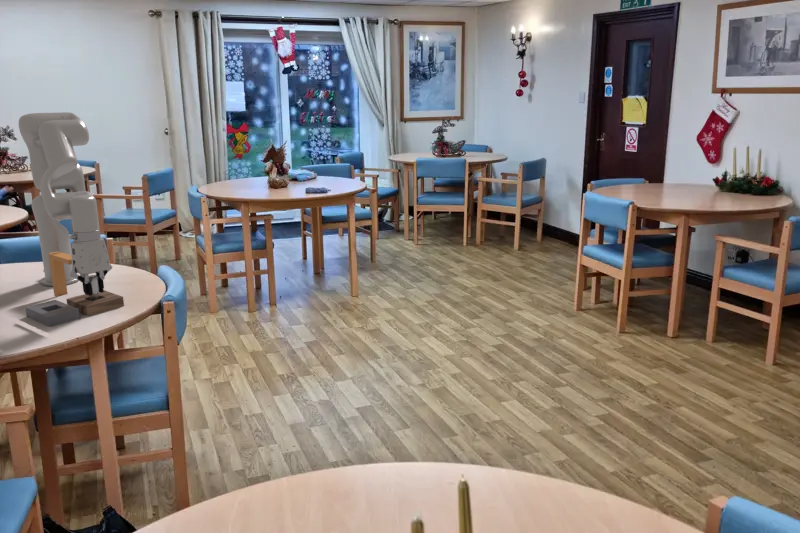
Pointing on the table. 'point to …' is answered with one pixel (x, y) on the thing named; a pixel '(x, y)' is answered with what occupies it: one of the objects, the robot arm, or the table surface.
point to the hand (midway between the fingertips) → (94, 292)
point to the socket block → (96, 303)
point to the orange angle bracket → (59, 271)
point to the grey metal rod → (94, 287)
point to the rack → (52, 313)
